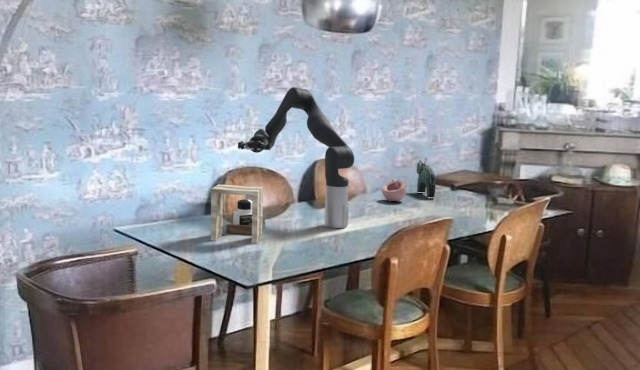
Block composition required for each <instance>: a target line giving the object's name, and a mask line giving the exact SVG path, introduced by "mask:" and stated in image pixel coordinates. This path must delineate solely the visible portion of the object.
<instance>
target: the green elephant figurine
mask: <svg viewBox="0 0 640 370" xmlns="http://www.w3.org/2000/svg"><path fill="white" fill-rule="evenodd" d="M426 161H428V158H427V157H425V158H424V161H422V160H421V159H419V162H417V164H416V173H417V174H418V178H417V185H416V186H417V187H416V188H417V189H416V190H417V191H416V193H417V192H425V193H426V197H427V196H428V197H434V198H435V194H436V175H435V171H434V169H433V168H432V166H431V165H429V164H428V162H426Z"/></svg>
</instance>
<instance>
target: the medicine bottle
mask: <svg viewBox="0 0 640 370" xmlns="http://www.w3.org/2000/svg"><path fill="white" fill-rule="evenodd" d="M236 202H237V204H236V205H237V208H236V210H234V211H233V218H232V219H233V224H234V225H249V226H252V201H251V200H247V199H246V198H245V199H243V198H242V199H239V200H237V201H236Z"/></svg>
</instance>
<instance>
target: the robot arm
mask: <svg viewBox="0 0 640 370" xmlns="http://www.w3.org/2000/svg"><path fill="white" fill-rule="evenodd" d="M291 109H295V110H296V109H298V110H302V111H304V112H305V114H306V115H307V119H306V127H307V130H308V131H309V132H310V134H311V135H312V137H313V139H315V140H317V141H318V142H320V143H321V144H323V145H325V146H326V147H328V148H327V149H326V150H325V153H324V154H325V155H324V177H325V202H324V204H325V205H324V226H325V227H327V228H331V229H345V228H346V227H348V225H349V211H350V210H349V209H350V208H349V205H350V204H349V201H348V197H349V179H348V178H347V177H345V176H342V175H340V174H339V173H340V172H339V170H342V169H344V170H345V169H348V168H352V166H353V165H354V164H355V156H354V152H353V150H352V149H351V147H350V146H349V145H348V143H346V142H345V140H344V139H342V137H341V136H340V135H339V134H338V132H337V131H336V129H335V128H334V127H333V125H332V124H331V122H330V121H329V119H328V118H327V117H326V115H325V114H324V112H323V111H322V109H321V108H320V107H319V105H318V103H317V101H316V98H315V97H314V95H313V94H312V92H311V91H310V90H308V89H306V88H301V87H296V86H295V87H294V86H293V87H290V88H289V89H288V91H287V92H286V93H285V95H284V97H283V99H282V101H281V102H280V104H279V106H278V107H277V110H276V112H275V114H274V115H273V117H272V118H271V119H270V120H269V121H268V122H267V124H266V125H265V127H264V128H259V129H257V131H256V132H255V133H254V134H253V136H252V137H251V138H249V140H248V141H245V142H244V141H242V140H241V141H239V142H237V148H238V149H239V150H240V149H241V150H250V151H251V152H253V153H256V154H257V153H261V152H263V151H270V150H271V149H273V147H274V146H275V144H276V141H277V138H278V135H279V134H280V133H281V132H282V131H283V129H285V126H286V124H287V120H288V119H287V114H288V112H289V110H291Z"/></svg>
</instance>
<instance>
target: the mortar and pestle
mask: <svg viewBox="0 0 640 370" xmlns="http://www.w3.org/2000/svg"><path fill="white" fill-rule="evenodd" d="M381 193H382V195H383V197H384V198H385V200H387V201H388V202H391V201H397V202H399V201H402V200H403V199H404V198H405V196H406V195H407V186H406V183H405V181H403V180H400V179H395V180H394V179H391V180H390V181H389V182H387V183H385V184H384V185H383V186H382V188H381Z"/></svg>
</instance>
